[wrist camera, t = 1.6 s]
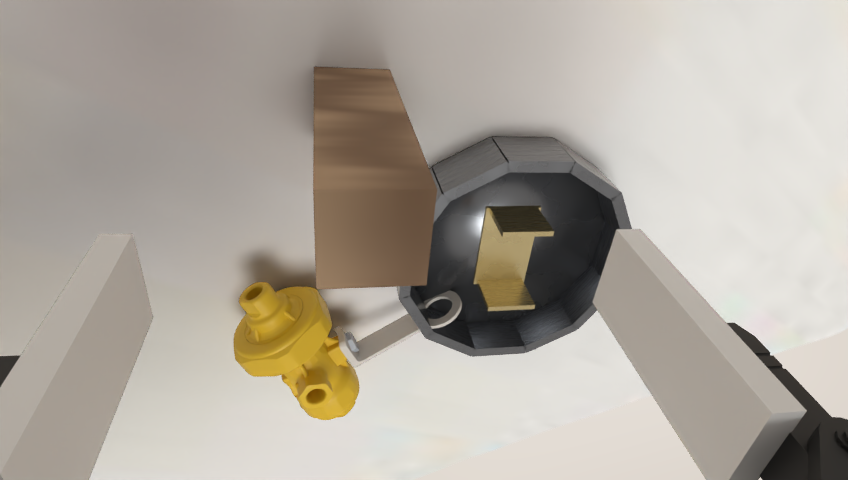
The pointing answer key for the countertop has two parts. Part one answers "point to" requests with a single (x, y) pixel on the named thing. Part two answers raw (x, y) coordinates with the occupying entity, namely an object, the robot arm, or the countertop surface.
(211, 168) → the countertop surface
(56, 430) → the robot arm
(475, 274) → the tin
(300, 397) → the pressure relief valve
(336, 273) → the wooden beam block
